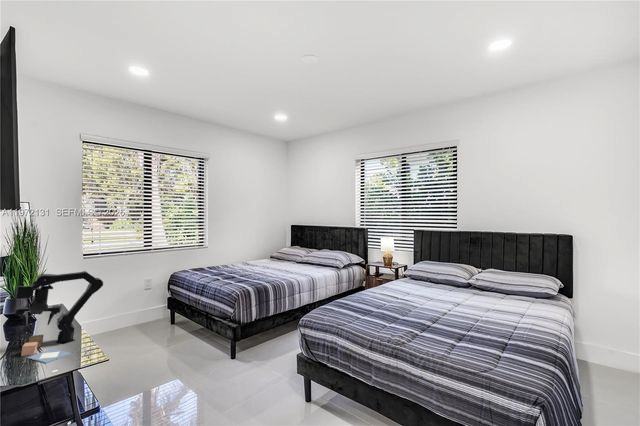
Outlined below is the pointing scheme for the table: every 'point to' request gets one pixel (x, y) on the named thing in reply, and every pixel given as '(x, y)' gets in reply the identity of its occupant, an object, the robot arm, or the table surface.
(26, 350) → the terracotta block
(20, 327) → the table surface
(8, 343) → the table surface
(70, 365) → the table surface
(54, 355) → the board
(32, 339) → the walnut block
